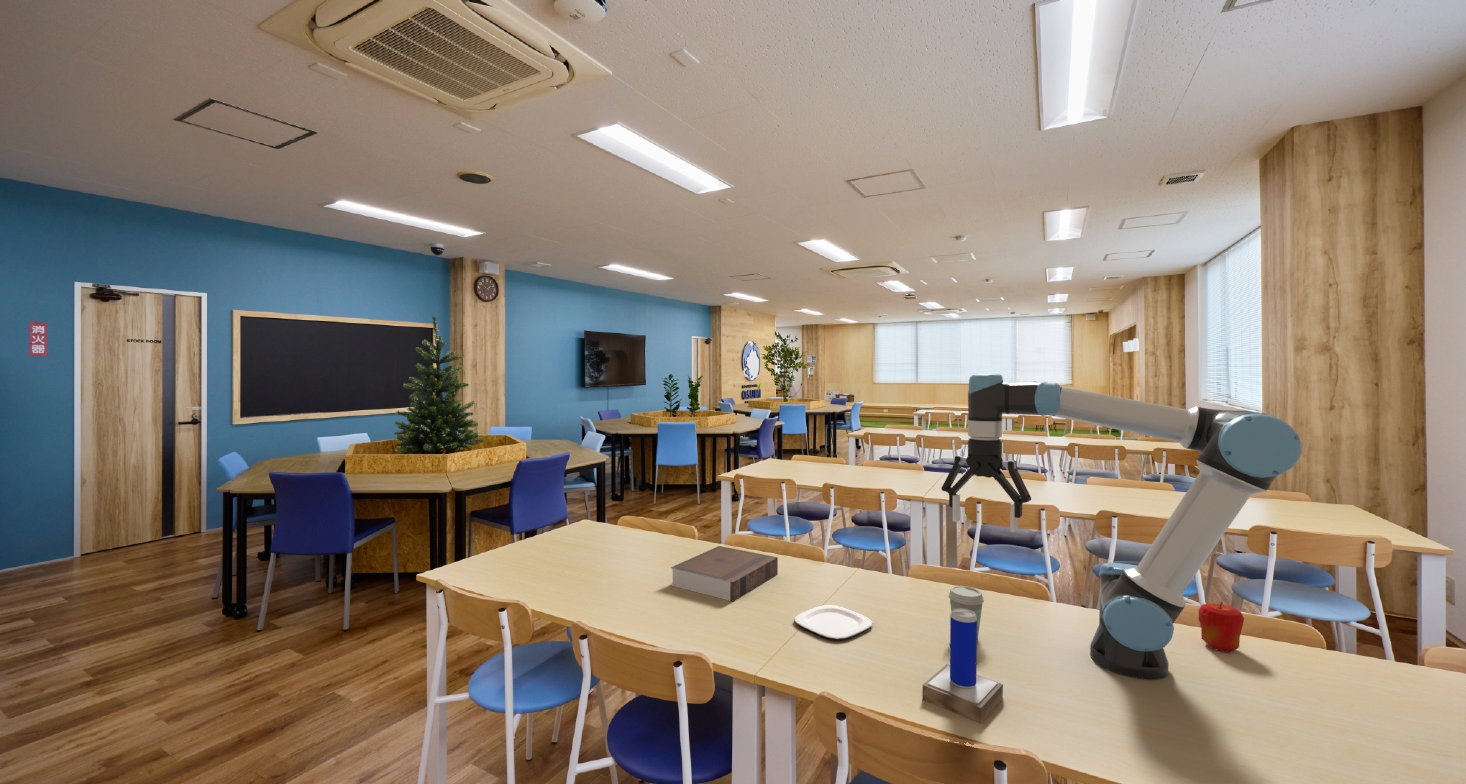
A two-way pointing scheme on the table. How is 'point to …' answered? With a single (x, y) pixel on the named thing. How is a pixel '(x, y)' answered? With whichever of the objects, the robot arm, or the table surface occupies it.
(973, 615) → the beverage can
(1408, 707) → the table surface
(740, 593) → the book
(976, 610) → the coffee cup
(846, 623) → the plate
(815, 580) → the table surface
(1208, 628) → the apple
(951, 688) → the stand
